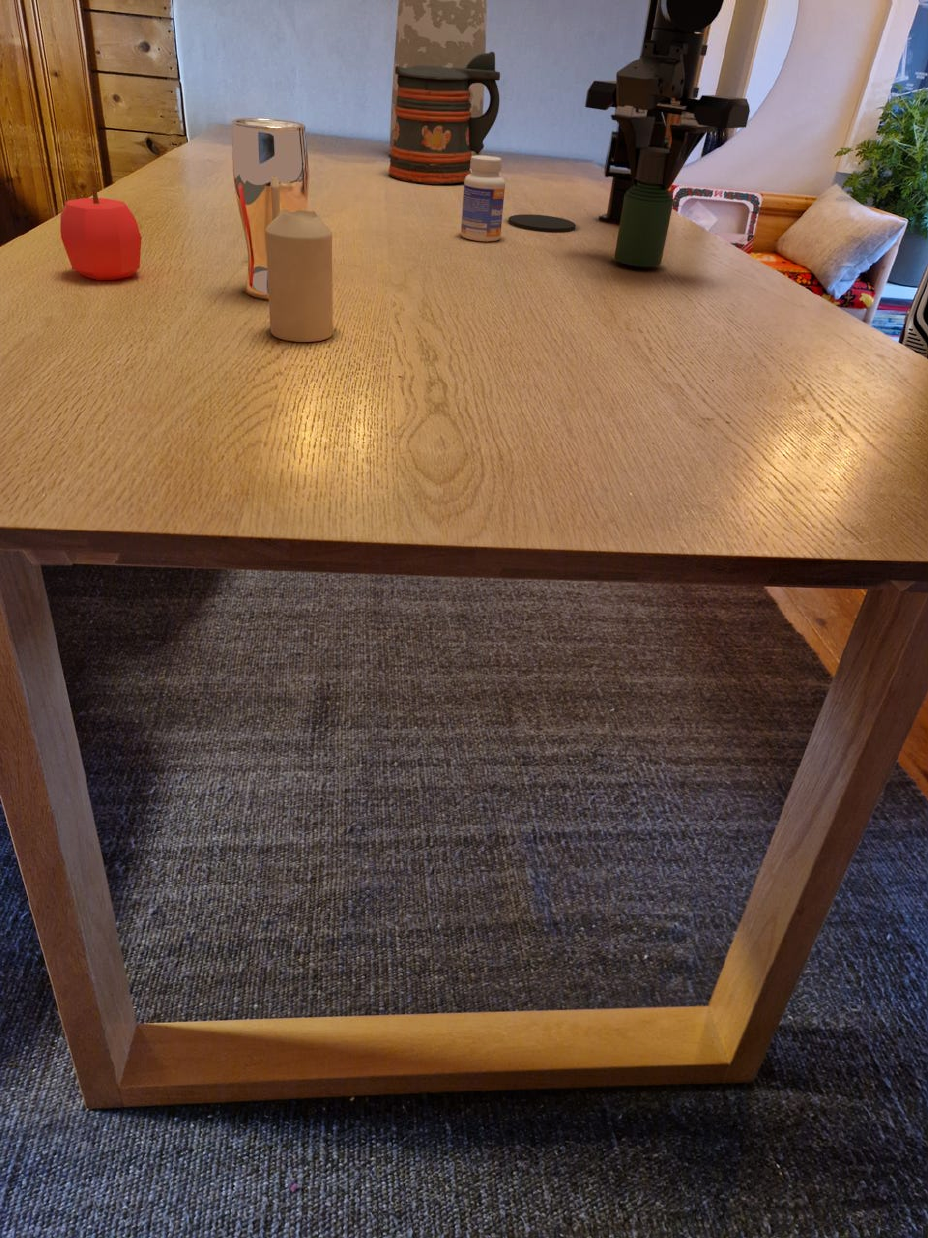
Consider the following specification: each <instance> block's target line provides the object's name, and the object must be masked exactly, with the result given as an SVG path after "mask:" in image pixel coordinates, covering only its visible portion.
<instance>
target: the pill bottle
mask: <svg viewBox="0 0 928 1238" xmlns="http://www.w3.org/2000/svg"><path fill="white" fill-rule="evenodd" d="M470 170H471V174H469V175H467V176H466V177H465V180H464V182H463V195H462V197H463V198H462V213H461V226H460V227H461V228H460V235H461V237H462V238H464V239H466V240H470V241H476V242H496V241H498V240H500V239H501V236H502V235H501V234H502V223H503V211H504V200H505V188H506V181H505V178H503V177H502V176H500V172H501V170H502V158H501V157H499V156H491V155H481V154H480V155H477V156H472V157H471V163H470Z"/></svg>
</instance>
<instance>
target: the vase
mask: <svg viewBox="0 0 928 1238" xmlns="http://www.w3.org/2000/svg"><path fill="white" fill-rule="evenodd" d="M487 6H488V5H487V0H398V6H397V15H396V16H397V17H396V30H395V41H394V42H395V43H394V44H395V45H394V57H393V73H392V86H391V87H392V88H391V89H392V90H391V107H390V128H389V129H390V131H389V154H390V155H391V147H392V145H393V144H394V135H395V126H396V114H395V111H396V105H397V104H396V102H397V96H398V94H397V93H398V84H397V78H398V75H397V74H396V73H395V68H396V66H400V67H403V68H408V67H413V66H441V67H447V68H466V66H467V64H468V63H469V61H470V60H471V59H472V58H474V57H475V56H477V55H479V54H483V53H487V51H486V49H487V48H486V47H487V17H488V16H487V14H488V11H487ZM468 91H469V92H470V98H469V102H470V103H471V107H470V109H469V110H470V112H471V117H472V118H474V117H480V116H482V115H483V114H484V105H485V103H484V101H485V85H483V84H481V83H475V84H472V85H470V87H469V89H468ZM481 151H482V150H481ZM481 151H480V152H479V154H478V155H481V153H482V152H481ZM471 153H472V156H477V154H476V152H474V151H471ZM470 162H471V159H470Z"/></svg>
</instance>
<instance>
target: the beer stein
mask: <svg viewBox="0 0 928 1238" xmlns="http://www.w3.org/2000/svg"><path fill="white" fill-rule="evenodd" d="M395 73H396V74H397V75H398V78H397V84H398V93H397V94H398V96H397V102H396V104H397V105H396V111H395V114H396V126H395V135H394V144H393V145H392V147H391V154H390V155H389V167H388V173H389V176H391V177H392V178H395V179H398V180H401V181H405V182H411V183H417V184H424V185H439V186H440V185H445V184H447V185H448V184H449V185H450V184H462V183H464V180H465V177H466V176H467V175H469V174H471V173H472V170H471V166H470V163H471V162H470V159H471V157H472V153H471V151H474V152H476V154H477V155H478V154H479V152H480V151H482V150H483V149H484V148H485V144H484V140H485V139H486V137H487V136H488V135H489V133H490V131H491V130H492V127H493V126H494V124H495V122H496V121H497V117H498V113H499V109H500V92H499V87H498V84H497V82H498V81H500V79H501V72H500V71H497V70H496V53H495V52H494V51H490V52H485V53H483V54H479V55H477V56H475V57H474V58H472V59H471V60H470V61H469V63H468V64H467V66H466V68H447V67H441V66H413V67H408V68H403V67H400V66H396V68H395ZM475 83H481V84H483V85H484V87H485V88H486V89H487V91H488V94H489V98H490V99H489V105H488V108H487V110H486V111H484V112H483V115H482V116H480V117H474V118H472V117H471V112H470V110H469V109H470V107H471V103H470V102H469V98H470V92H469V91H468V89H469V87H470V85H472V84H475Z"/></svg>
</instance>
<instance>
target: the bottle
mask: <svg viewBox="0 0 928 1238" xmlns="http://www.w3.org/2000/svg"><path fill="white" fill-rule="evenodd" d="M674 201H675V200H674V195H673V194H672V192H671V191H670V189H667V190H665V189H663V184H654V183H647V182H642V181H638V182H637V183H636V184H634V186H632V187H631V188H630V189H629V190H627V193H625V196H624V202H623V208H622V214H621V220H620V223H619V226H618V232H617V238H616V243H615V250H614V256H613V258H614V260H615V261H616V262H618V263H621V264H623V265H627V266H633V267H639V268H654V267H659V266H661V264H662V261H663V257H664V251H665V246H666V242H667V236H668V232H669V227H670V226H669V225H670V221H671V216H672V211H673V205H674Z"/></svg>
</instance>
